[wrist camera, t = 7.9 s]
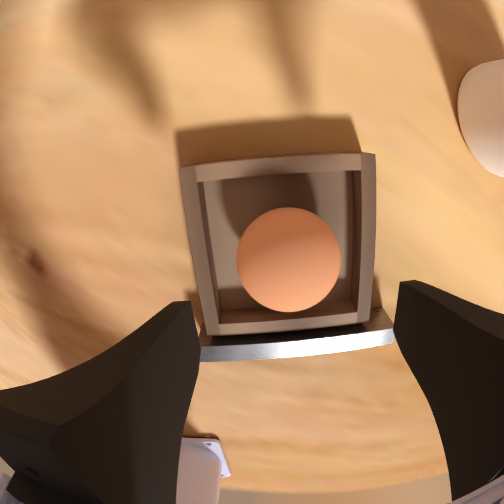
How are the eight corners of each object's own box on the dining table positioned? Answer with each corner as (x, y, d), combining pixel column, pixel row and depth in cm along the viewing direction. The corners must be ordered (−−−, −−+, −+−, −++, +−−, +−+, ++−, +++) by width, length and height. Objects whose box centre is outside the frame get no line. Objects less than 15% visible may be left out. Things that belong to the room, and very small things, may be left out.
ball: (244, 287, 18) (240, 337, 13) (233, 203, 16) (225, 228, 11) (328, 279, 18) (351, 325, 13) (326, 195, 16) (354, 217, 11)
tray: (211, 317, 19) (207, 336, 17) (188, 164, 16) (178, 168, 14) (359, 305, 19) (368, 321, 17) (362, 152, 15) (375, 154, 13)
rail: (205, 338, 20) (199, 361, 17) (202, 323, 19) (195, 346, 17) (380, 322, 19) (393, 343, 17) (382, 307, 19) (396, 327, 16)
